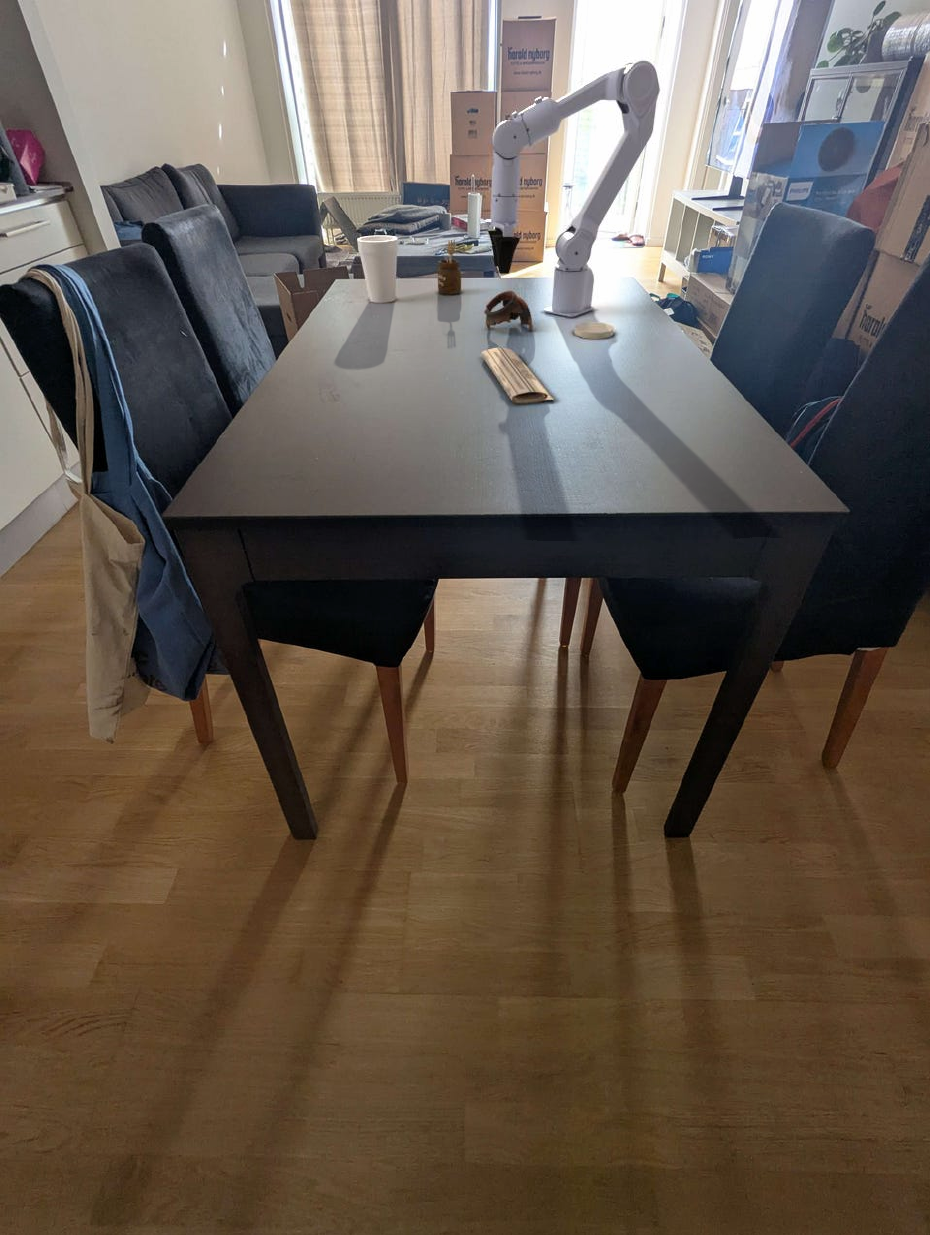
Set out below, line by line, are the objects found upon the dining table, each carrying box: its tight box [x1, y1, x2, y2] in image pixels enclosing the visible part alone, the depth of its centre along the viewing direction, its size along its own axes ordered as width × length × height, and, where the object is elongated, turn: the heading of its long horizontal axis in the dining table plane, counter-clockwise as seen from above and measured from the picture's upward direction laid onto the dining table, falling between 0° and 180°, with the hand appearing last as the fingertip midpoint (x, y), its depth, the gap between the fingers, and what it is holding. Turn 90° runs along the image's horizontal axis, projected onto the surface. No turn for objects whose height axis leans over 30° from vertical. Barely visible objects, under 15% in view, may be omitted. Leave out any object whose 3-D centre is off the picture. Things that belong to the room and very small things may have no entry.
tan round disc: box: [573, 321, 615, 340], centre depth 127 cm, size 8×8×1 cm
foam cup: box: [357, 234, 399, 304], centre depth 148 cm, size 10×9×13 cm
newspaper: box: [481, 347, 555, 404], centre depth 107 cm, size 24×7×2 cm, turn 11°
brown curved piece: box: [484, 290, 534, 332], centre depth 130 cm, size 12×10×8 cm
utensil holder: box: [437, 239, 462, 296], centre depth 153 cm, size 6×6×12 cm
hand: (501, 269), depth 135 cm, fingers open, 7 cm apart
